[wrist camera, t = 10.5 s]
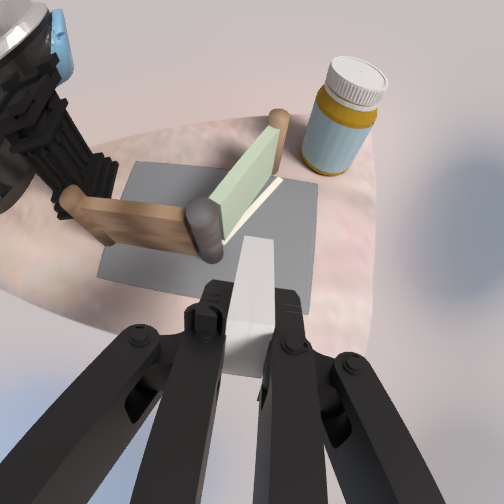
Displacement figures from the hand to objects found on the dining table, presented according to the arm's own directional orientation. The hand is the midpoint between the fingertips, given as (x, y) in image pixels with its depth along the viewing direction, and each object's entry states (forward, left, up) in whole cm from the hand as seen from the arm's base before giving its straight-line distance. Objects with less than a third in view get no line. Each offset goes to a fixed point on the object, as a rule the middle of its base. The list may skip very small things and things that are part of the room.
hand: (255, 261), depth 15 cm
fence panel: (-2, +12, -14) cm, 18 cm away
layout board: (-5, +8, -15) cm, 18 cm away
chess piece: (-23, +11, -15) cm, 30 cm away
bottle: (+8, +21, -15) cm, 27 cm away
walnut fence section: (-11, +5, -15) cm, 19 cm away
